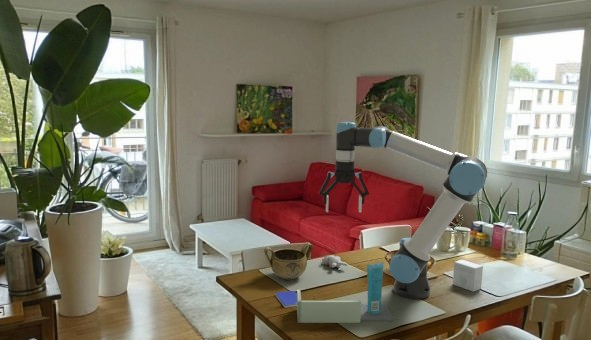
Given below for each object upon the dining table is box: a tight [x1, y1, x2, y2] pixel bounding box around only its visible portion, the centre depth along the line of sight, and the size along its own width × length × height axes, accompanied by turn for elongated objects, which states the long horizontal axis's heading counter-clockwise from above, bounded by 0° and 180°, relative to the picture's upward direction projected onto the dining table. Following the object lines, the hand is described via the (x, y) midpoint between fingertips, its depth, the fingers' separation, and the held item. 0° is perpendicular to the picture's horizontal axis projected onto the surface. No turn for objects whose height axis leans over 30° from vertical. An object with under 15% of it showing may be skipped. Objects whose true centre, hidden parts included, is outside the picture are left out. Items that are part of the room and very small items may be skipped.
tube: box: [366, 261, 385, 314], centre depth 178 cm, size 7×5×19 cm, turn 122°
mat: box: [360, 304, 394, 322], centre depth 180 cm, size 12×12×1 cm
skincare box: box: [452, 259, 484, 292], centre depth 206 cm, size 10×6×10 cm, turn 37°
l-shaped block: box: [296, 288, 362, 324], centre depth 177 cm, size 23×11×8 cm, turn 91°
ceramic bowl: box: [263, 241, 314, 280], centre depth 213 cm, size 22×17×15 cm
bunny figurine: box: [321, 254, 348, 269], centre depth 229 cm, size 10×5×15 cm
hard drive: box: [275, 290, 303, 309], centre depth 191 cm, size 2×8×12 cm
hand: (343, 211), depth 194 cm, fingers open, 13 cm apart
